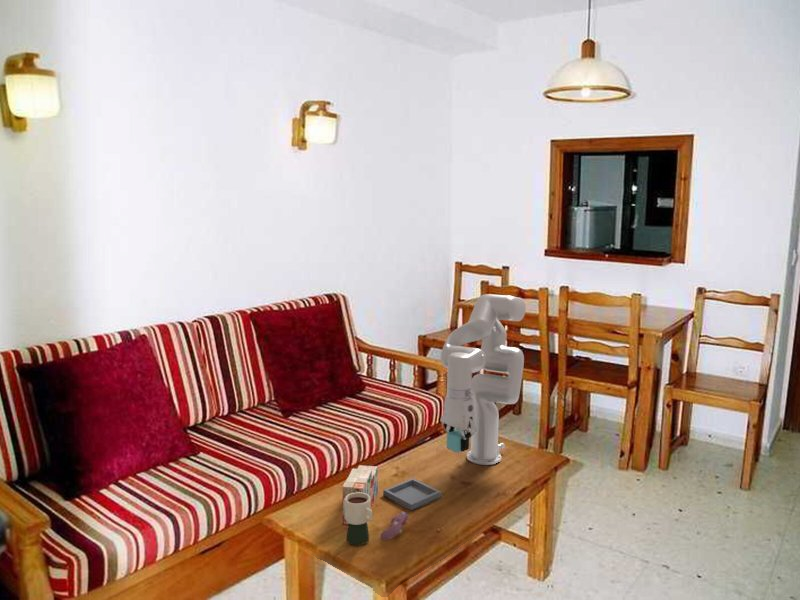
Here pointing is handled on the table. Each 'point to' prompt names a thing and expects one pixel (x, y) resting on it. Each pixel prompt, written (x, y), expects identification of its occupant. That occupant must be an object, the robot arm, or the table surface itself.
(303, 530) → the table surface
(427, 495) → the tray
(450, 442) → the cube
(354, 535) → the character mug
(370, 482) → the stack of blocks
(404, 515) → the purple elongated lump
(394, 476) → the table surface
